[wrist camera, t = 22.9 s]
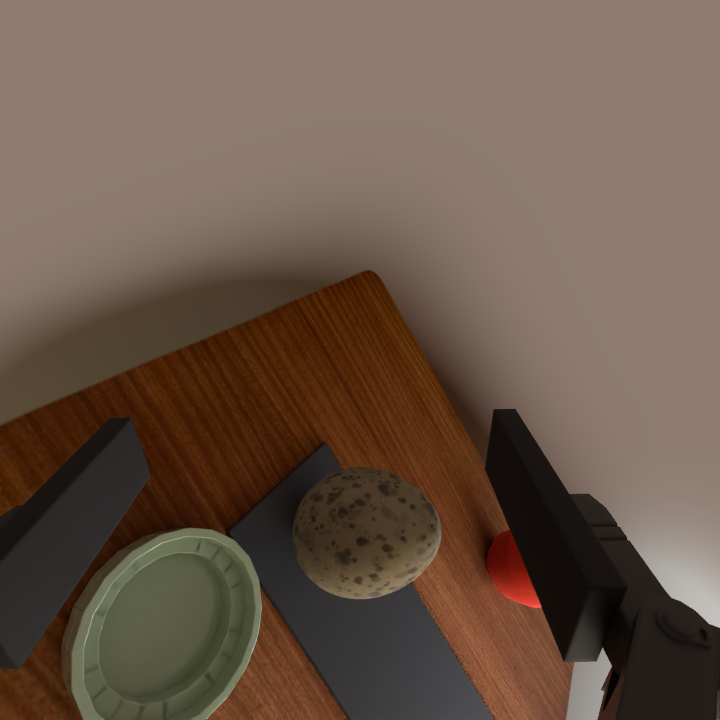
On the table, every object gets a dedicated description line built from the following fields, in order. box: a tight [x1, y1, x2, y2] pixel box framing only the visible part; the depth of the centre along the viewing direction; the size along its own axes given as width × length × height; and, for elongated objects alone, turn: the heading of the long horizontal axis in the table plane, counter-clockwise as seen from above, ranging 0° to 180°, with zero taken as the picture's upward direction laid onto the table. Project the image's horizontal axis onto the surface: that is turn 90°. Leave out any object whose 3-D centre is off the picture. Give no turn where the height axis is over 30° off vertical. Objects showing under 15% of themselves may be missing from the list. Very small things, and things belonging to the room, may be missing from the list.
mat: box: [226, 443, 494, 720], centre depth 42 cm, size 48×14×1 cm, turn 43°
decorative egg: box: [293, 467, 441, 599], centre depth 35 cm, size 11×11×15 cm
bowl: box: [62, 528, 262, 720], centre depth 28 cm, size 12×12×4 cm
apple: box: [487, 530, 541, 607], centre depth 56 cm, size 10×10×12 cm
